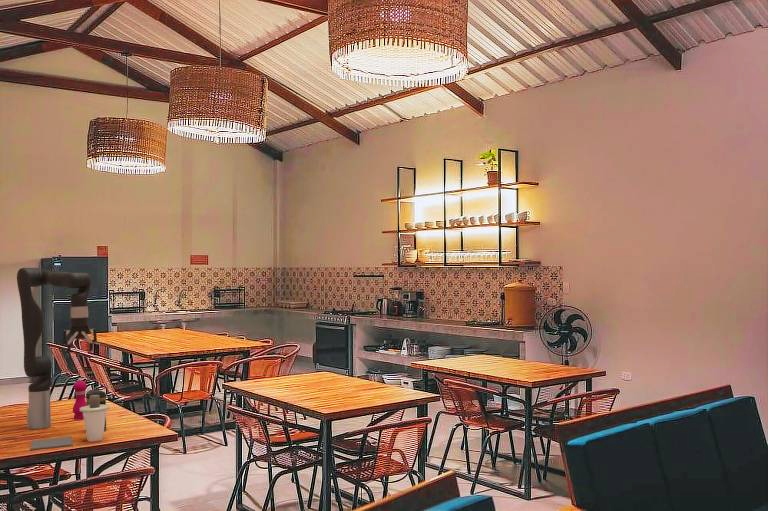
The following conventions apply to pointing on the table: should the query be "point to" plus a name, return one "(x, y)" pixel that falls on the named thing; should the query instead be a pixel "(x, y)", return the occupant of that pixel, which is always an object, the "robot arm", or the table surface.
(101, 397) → the coffee jar
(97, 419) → the foam cup
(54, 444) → the mat
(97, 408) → the lid
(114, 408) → the table surface
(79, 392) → the pepper mill
